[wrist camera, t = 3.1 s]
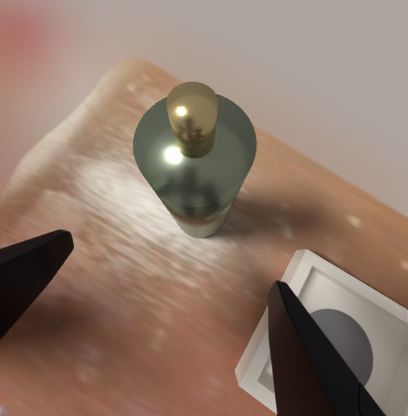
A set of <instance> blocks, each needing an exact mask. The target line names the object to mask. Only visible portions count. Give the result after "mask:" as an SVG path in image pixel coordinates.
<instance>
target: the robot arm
mask: <svg viewBox="0 0 408 416" xmlns="http://www.w3.org/2000/svg"><path fill="white" fill-rule="evenodd" d="M73 248H74V243H73V239H72V235H71V232H69V231H66V230H62V229H60V230H56V231H53V232H50V233H47V234H44V235H41V236H38V237H35V238H32V239H29V240H26V241H23V242H20V243H17V244H14V245H11V246H8V247H5V248H1V249H0V340H1V339H2V337H3V336H4V335H5V334H6V333H7V332H8V330H9V329H10V328H11V327H12V326H13V325H14V323H15V322H16V321H17V320H18V319H19V318H20V316H21V315H22V314H23V313H24V312H25V311H26V309H27V308H28V307H29V306H30V305H31V304H32V302H33V301H34V300H35V299H36V298H37V297H38V296H39V294H40V293H41V292H42V291H43V290H44V289H45V287H46V286H47V285H48V284H49V283H50V281H51V280H52V279H53V277H54V276H55V275H56V273H57V272H58V270H59V269H60V268H61V266H62V265H63V263H64V262H65V261H66V259H67V258H68V256H69V255H70V254H71V252H72V251H73ZM268 337H269V347H270V356H271V365H272V374H273V383H274V392H275V401H276V409H277V416H386V415H385V413H384V412H383V411H382V410H381V408H380V407H379V406H378V404H377V403H376V402H375V400H374V399H373V398H372V396H371V395H370V394H369V392H368V391H367V390H366V388H365V387H364V386H363V384H362V383H361V382H359V379H358V378H357V377H356V375H355V374H354V373H353V371H352V370H351V368H350V367H349V366H348V364H347V363H346V362H345V360H344V359H343V358H342V356H341V355H340V354H339V352H338V351H337V350H336V348H335V347H334V346H333V344H332V343H331V342H330V340H329V339H328V338H327V336H326V335H325V334H324V332H323V331H322V330H321V328H320V327H319V326H318V324H317V323H316V322H315V320H314V319H313V318H312V316H311V315H310V314H309V312H308V311H307V310H306V308H305V307H304V306H303V304H302V303H301V302H300V300H299V299H298V297H297V296H296V295H295V293H294V292H293V291H292V289H291V288H290V287H289V285H288V284H287V283H286V282H283V281H278V280H276V281H275V282H274V284H273V286H272V288H271V290H270V291H269V294H268Z"/></svg>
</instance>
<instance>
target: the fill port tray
mask: <svg viewBox="0 0 408 416" xmlns="http://www.w3.org/2000/svg"><path fill="white" fill-rule="evenodd" d="M280 281H283V282H286V283H287V284H288V285H289V287H290V288H291V289H292V291H293V292H294V293H295V295H296V296H297V297H298V299H299V300H300V302H301V303H302V304H303V306H304V307H305V308H306V310H307V311H308V312H309V314H310V315H311V316H312V318H313V319H314V320H315V322H316V323H317V324H318V326H319V327H320V328H321V330H322V331H323V332H324V334H325V335H326V336H327V338H328V339H329V340H330V342H331V343H332V344H333V346H334V347H335V348H336V350H337V351H338V352H339V354H340V355H341V356H342V358H343V359H344V360H345V362H346V363H347V364H348V366H349V367H350V368H351V370H352V371H353V373H354V374H355V375H356V377H357V378H358V379H359V382H361V383H362V384H363V386H364V387H365V388H366V390H367V391H368V392H369V394H370V395H371V396H372V398H373V399H374V400H375V402H376V403H377V404H378V406H379V407H380V408H381V410H382V411H383V412H384V413H385V415H386V416H408V310H407V309H405V308H404V307H402V306H401V305H399V304H397V303H396V302H394V301H392V300H391V299H389V298H387V297H386V296H384V295H382V294H381V293H379V292H377V291H376V290H374V289H372V288H371V287H369V286H367V285H366V284H364V283H362V282H361V281H359V280H357V279H356V278H354V277H352V276H351V275H349V274H347V273H346V272H344V271H342V270H341V269H339V268H337V267H336V266H334V265H332V264H331V263H329V262H327V261H326V260H324V259H322V258H321V257H319V256H318V255H316V254H314V253H313V252H311V251H309V250H308V249H304V250H296V251H295V253H294V255H293V257H292V259H291V261H290V263H289V265H288V267H287V269H286V271H285V273H284V275H283V277H282V279H281V280H280ZM235 373H236V377H237V381H238V384H239V386H240V387H241V388H242V389H244V390H245V391H246V392H248V393H249V394H250V395H252V396H253V397H254V398H256V399H257V400H258V401H260V402H261V403H262V404H264V405H265V406H266V407H268V408H269V409H270V410H272V411H273V412H274V413H276V414H277V409H276V401H275V392H274V383H273V374H272V365H271V356H270V347H269V337H268V306H267V308H266V310H265V312H264V314H263V316H262V318H261V320H260V322H259V324H258V325H257V327H256V329H255V331H254V333H253V335H252V337H251V339H250V341H249V343H248V345H247V347H246V349H245V351H244V353H243V355H242V357H241V359H240V361H239V363H238V365H237V367H236V369H235Z"/></svg>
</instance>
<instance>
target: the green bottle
mask: <svg viewBox="0 0 408 416" xmlns="http://www.w3.org/2000/svg"><path fill="white" fill-rule="evenodd" d="M256 146H257V142H256V135H255V131H254V128H253V125H252V123H251V121H250V119H249V118H248V116H247V115H246V114H245V112H244V111H243V110H242V109H241V108H240V107H239V106H237V105H236V104H235V103H234V102H232V101H230V100H229V99H227V98H225V97H223V96H221V95H218V94H215V92H214V91H213V90H212V89H211V88H210V87H208V86H207V85H205V84H202V83H199V82H186V83H182V84H180V85H178V86H176V87H175V88H174V89H172V91H171V92H170V93H169V95H168V97H166V98H164V99H162V100H161V101H159V102H157V103H156V104H155V105H153V106H152V107H151V108H150V109H149V110H148V111H147V112H146V113H145V114H144V116H143V117H142V118H141V120H140V122H139V124H138V126H137V129H136V131H135V135H134V141H133V150H134V156H135V160H136V163H137V166H138V168H139V169H140V171H141V173H142V174H143V176H144V177H145V179H146V180H147V181H148V183H149V184H150V186H151V187H152V188H153V190H154V191H155V193H156V194H157V195H158V197H159V198H160V200H161V201H162V202H163V204H164V205H165V207H166V208H167V209H168V211H169V212H170V214H171V215H172V216H173V218H174V219H175V221H176V222H177V223H178V225H179V226H180V228H181V229H182V230H183V231H184V232H185V233H186V234H188V235H189V236H192V237H195V238H206V237H209V236H211V235H213V234H215V233H216V232H217V231H218V230H219V229H220V227H221V226H222V224H223V222H224V220H225V218H226V216H227V214H228V212H229V210H230V208H231V206H232V204H233V202H234V200H235V198H236V196H237V194H238V192H239V190H240V188H241V186H242V184H243V182H244V180H245V178H246V176H247V174H248V172H249V170H250V168H251V166H252V164H253V161H254V158H255V154H256Z"/></svg>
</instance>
